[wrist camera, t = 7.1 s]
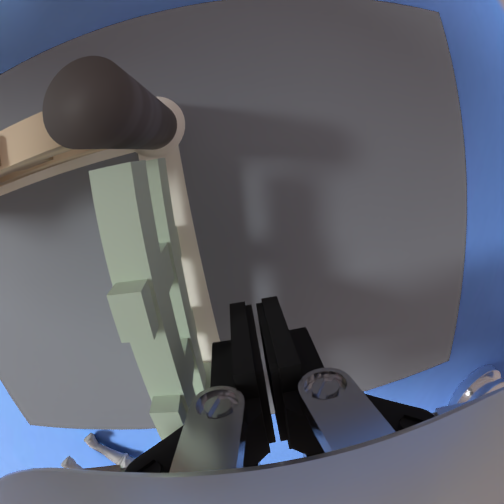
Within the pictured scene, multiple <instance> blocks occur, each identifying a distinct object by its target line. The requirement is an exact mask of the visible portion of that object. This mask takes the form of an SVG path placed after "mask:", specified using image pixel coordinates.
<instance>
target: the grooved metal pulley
mask: <svg viewBox="0 0 504 504" xmlns="http://www.w3.org/2000/svg"><path fill="white" fill-rule="evenodd" d="M502 387H504V378H501V374H500V372H499V371H498V370H497V369H496V368H495V367H494V366H493V365H491V364H487V365H483V366H481V367H479V368H478V369H476V370H475V371H473V372H472V373H471V374H470V375H468V376H467V377H466V378H465V379H464V380H463V381H462V383H461V384H460V385H459V386H458V387H457V389H456V390H455V392H454V393H453V395H452V397H451V399H450V401H449V404H448V406H450V405H454V404H458V403H462V402H466V401H470V400H474V399H477V398H479V397H481V396H483V395H485V394H487V393H490V392H492V391H495V390H497V389H500V388H502Z"/></svg>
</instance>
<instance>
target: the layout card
mask: <svg viewBox="0 0 504 504" xmlns="http://www.w3.org/2000/svg"><path fill="white" fill-rule="evenodd" d="M86 56H101V57H105V58H107V59H109V60H111V61H113V62H114V63H115V64H117V65H118V66H119V67H120V68H122V69H123V70H124V71H125V72H127V73H128V74H129V75H130V76H131V77H133V78H134V79H135V80H136V81H137V82H139V83H140V84H141V85H142V86H143V87H145V88H146V89H147V90H148V91H149V92H151V93H152V94H153V95H154V96H155V97H157V98H158V99H159V100H160V101H161V102H162V103H164V104H165V105H166V106H167V107H168V108H169V109H171V110H172V112H173V113H174V115H175V117H176V120H177V130H176V134H175V136H174V138H173V139H172V140H171V142H170V143H169V144H167V145H166V146H164V147H162V148H160V149H155V150H146V149H106V150H103V151H100V152H96V153H93V154H90V155H86V156H83V157H80V158H77V159H74V160H71V161H68V162H65V163H62V164H59V165H56V166H53V167H50V168H47V169H45V170H42V171H39V172H37V173H34V174H31V175H29V176H26V177H24V178H21V179H18V180H16V181H14V182H11V183H9V184H6V185H4V186H2V187H0V380H1V381H2V383H3V385H4V386H5V388H6V390H7V391H8V393H9V394H10V396H11V398H12V399H13V401H14V402H15V404H16V405H17V407H18V408H19V410H20V411H21V413H22V414H23V416H24V417H25V418H26V420H27V421H28V423H29V424H30V425H37V426H47V427H59V428H76V429H151V428H156V427H155V425H154V422H153V420H152V418H151V416H150V414H149V412H150V407H151V403H152V401H151V398H150V396H149V393H148V391H147V388H146V386H145V383H144V381H143V378H142V375H141V373H140V370H139V367H138V365H137V362H136V359H135V356H134V353H133V351H132V348H131V345H130V343H121V340H120V337H119V334H118V331H117V328H116V325H115V322H114V319H113V316H112V312H111V309H110V306H109V302H108V299H107V296H106V295H107V294H108V293H109V291H110V290H111V288H112V287H113V286H112V282H111V278H110V274H109V271H108V267H107V263H106V258H105V254H104V250H103V246H102V241H101V237H100V232H99V227H98V222H97V217H96V212H95V207H94V202H93V196H92V190H91V184H90V178H89V171H91V170H95V169H99V168H104V167H108V166H113V165H118V164H122V163H127V162H133V161H141V160H146V161H147V160H153V159H159V158H165V160H166V167H167V174H168V182H169V188H170V195H171V202H172V208H173V214H174V221H175V226H177V230H178V236H179V242H180V248H181V253H182V257H181V261H182V266H183V271H184V277H185V282H186V287H187V292H188V297H189V302H190V306H191V308H192V310H193V314H194V319H195V324H196V328H197V338H198V343H199V347H200V351H201V356H202V360H203V363H206V362H211V359H212V343H213V342H220V341H227V340H231V331H230V306H229V304H231V303H238V302H244V301H245V305H251V304H252V310H253V315H254V321H255V326H256V332H257V338H258V343H259V349H260V354H261V359H262V365H263V371H264V376H265V382H266V388H267V394H268V400H269V406H270V412H271V414H275V410H274V405H273V400H272V395H271V390H270V385H269V380H268V375H267V370H266V364H265V358H264V351H263V345H262V339H261V333H260V326H259V320H258V314H257V308H256V303H262V301H261V299H262V298H267V297H273V296H277V298H278V301H279V304H280V306H281V309H282V312H283V315H284V318H285V320H286V323H287V326H288V329H289V330H292V329H297V328H302V327H306V328H307V330H308V332H309V335H310V337H311V339H312V341H313V343H314V346H315V348H316V350H317V352H318V355H319V357H320V359H321V361H322V363H323V366H324V368H336V369H340V370H342V371H344V372H346V373H347V374H348V375H349V376H350V377H351V378H352V379H353V380H354V381H355V383H356V384H357V385H358V386H359V388H360V389H361V390H362V391H367V390H370V389H373V388H376V387H379V386H382V385H385V384H388V383H391V382H394V381H397V380H400V379H403V378H406V377H408V376H411V375H414V374H416V373H419V372H422V371H424V370H427V369H429V368H432V367H434V366H437V365H439V364H442V363H444V362H446V361H449V358H450V353H451V348H452V344H453V339H454V334H455V328H456V322H457V317H458V310H459V304H460V296H461V289H462V280H463V271H464V259H465V245H466V223H467V182H466V160H465V147H464V136H463V126H462V118H461V110H460V103H459V97H458V91H457V85H456V80H455V75H454V70H453V65H452V60H451V56H450V52H449V48H448V44H447V40H446V36H445V32H444V29H443V25H442V22H441V18H440V15H439V12H435V11H430V10H426V9H422V8H417V7H412V6H407V5H401V4H396V3H389V2H383V1H376V0H221V1H214V2H207V3H201V4H195V5H189V6H184V7H179V8H174V9H169V10H165V11H160V12H156V13H152V14H148V15H144V16H140V17H137V18H133V19H130V20H126V21H123V22H120V23H116V24H113V25H110V26H107V27H104V28H101V29H98V30H96V31H93V32H90V33H87V34H85V35H82V36H79V37H77V38H74V39H72V40H70V41H67V42H65V43H62V44H60V45H58V46H55V47H53V48H51V49H49V50H47V51H45V52H42V53H40V54H38V55H36V56H34V57H32V58H30V59H28V60H26V61H24V62H22V63H20V64H19V65H17V66H15V67H13V68H11V69H9V70H8V71H6V72H4V73H2V74H1V75H0V131H2V130H3V129H5V128H7V127H9V126H11V125H13V124H16V123H18V122H20V121H22V120H24V119H26V118H28V117H30V116H33V115H35V114H37V113H39V112H42V108H43V101H44V97H45V93H46V91H47V89H48V86H49V85H50V83H51V81H52V80H53V78H54V77H55V76H56V74H57V73H58V72H59V71H60V70H61V69H62V68H63V67H65V66H66V65H67V64H69V63H70V62H72V61H74V60H76V59H79V58H82V57H86Z"/></svg>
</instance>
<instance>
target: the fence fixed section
mask: <svg viewBox="0 0 504 504" xmlns="http://www.w3.org/2000/svg"><path fill="white" fill-rule="evenodd" d="M176 130H177V120H176V117H175V115H174V113H173V112H172V110H171V109H169V108H168V107H167V106H166V105H165V104H164V103H162V102H161V101H160V100H159V99H158V98H157V97H155V96H154V95H153V94H152V93H151V92H149V91H148V90H147V89H146V88H145V87H143V86H142V85H141V84H140V83H139V82H137V81H136V80H135V79H134V78H133V77H131V76H130V75H129V74H128V73H127V72H125V71H124V70H123V69H122V68H120V67H119V66H118V65H117V64H115V63H114V62H113V61H111V60H109V59H107V58H105V57H101V56H86V57H82V58H79V59H76V60H74V61H72V62H70V63H69V64H67V65H66V66H65V67H63V68H62V69H61V70H60V71H59V72H58V73H57V74H56V76H55V77H54V78H53V80H52V81H51V83H50V85H49V86H48V89H47V91H46V93H45V97H44V101H43V108H42V112H39V113H37V114H35V115H33V116H30V117H28V118H26V119H24V120H22V121H20V122H18V123H16V124H13V125H11V126H9V127H7V128H5V129H3V130H2V131H0V187H2V186H4V185H6V184H9V183H11V182H14V181H16V180H18V179H21V178H24V177H26V176H29V175H31V174H34V173H37V172H39V171H42V170H45V169H47V168H50V167H53V166H56V165H59V164H62V163H65V162H68V161H71V160H74V159H77V158H80V157H83V156H86V155H90V154H93V153H96V152H100V151H103V150H106V149H146V150H155V149H160V148H162V147H164V146H166V145H167V144H169V143H170V142H171V140H172V139H173V138H174V136H175V134H176Z"/></svg>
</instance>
